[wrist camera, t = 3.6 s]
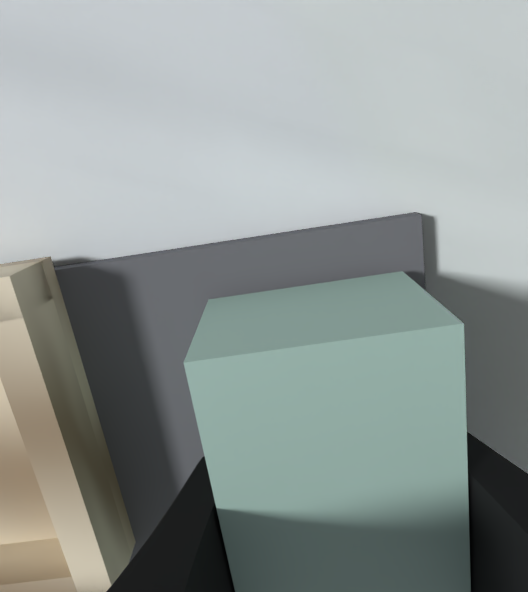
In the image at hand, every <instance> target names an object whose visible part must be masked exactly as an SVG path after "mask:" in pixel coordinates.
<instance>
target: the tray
mask: <svg viewBox="0 0 528 592" xmlns="http://www.w3.org/2000/svg"><path fill="white" fill-rule="evenodd" d="M135 543H136V541H135V538H134V535H133V531H132V528H131V525H130V521H129V518H128V515H127V511H126V508H125V504H124V501H123V498H122V494H121V491H120V488H119V484H118V481H117V478H116V474H115V471H114V468H113V464H112V461H111V458H110V454H109V451H108V447H107V444H106V441H105V437H104V434H103V431H102V427H101V424H100V421H99V417H98V414H97V411H96V407H95V404H94V400H93V397H92V394H91V390H90V387H89V384H88V380H87V377H86V374H85V370H84V367H83V364H82V360H81V357H80V353H79V350H78V347H77V343H76V340H75V337H74V333H73V330H72V327H71V323H70V320H69V317H68V313H67V310H66V307H65V303H64V300H63V296H62V293H61V290H60V286H59V283H58V280H57V276H56V273H55V270H54V266H53V263H52V260H51V257H44V258H38V259H31V260H25V261H18V262H12V263H5V264H0V592H106V591H107V590H108V589H109V588H110V587H111V585H112V584H113V583H114V582H115V580H116V579H117V578H118V577H119V575H120V574H121V573H122V572H123V570H124V569H125V568H126V566H127V565H128V564H129V561H130V558H131V555H132V552H133V549H134V546H135Z"/></svg>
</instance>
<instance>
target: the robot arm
mask: <svg viewBox="0 0 528 592" xmlns="http://www.w3.org/2000/svg"><path fill="white" fill-rule="evenodd" d="M467 460H468V499H469V538H470V577H471V592H528V474H527V473H526V472H524V471H523V470H521V469H520V468H518V467H517V466H515V465H514V464H512V463H511V462H509V461H508V460H507V459H505V458H504V457H502V456H501V455H499V454H498V453H497V452H495V451H494V450H492V449H491V448H489V447H488V446H486V445H485V444H484V443H482V442H481V441H479V440H478V439H477V438H475V437H474V436H472V435H471V434H469V433H468V432H467ZM106 592H235V589H234V585H233V580H232V576H231V571H230V567H229V562H228V558H227V553H226V549H225V545H224V540H223V536H222V531H221V527H220V522H219V518H218V514H217V509H216V505H215V500H214V496H213V491H212V487H211V482H210V478H209V474H208V469H207V465H206V460H205V457H202V458H201V460H200V461H199V462H198V464H197V465H196V467H195V468H194V470H193V472H192V473H191V475H190V476H189V478H188V480H187V481H186V483H185V484H184V486H183V487H182V489H181V491H180V492H179V494H178V495H177V497H176V498H175V500H174V501H173V503H172V504H171V506H170V507H169V509H168V510H167V512H166V513H165V514H164V516H163V517H162V519H161V520H160V522H159V523H158V525H157V526H156V527H155V529H154V530H153V532H152V533H151V535H150V536H149V537H148V539H147V540H146V542H145V543H144V544H143V545H142V547H141V548H140V549H139V551H138V552H137V553H136V555H135V556H134V557H133V559H132V560H131V561H130V562H129V564H128V565H127V566H126V568H125V569H124V570H123V572H122V573H121V574H120V575H119V577H118V578H117V579H116V580H115V582H114V583H113V584H112V585H111V587H110V588H109V589H108V590H107V591H106Z"/></svg>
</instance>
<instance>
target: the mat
mask: <svg viewBox="0 0 528 592" xmlns="http://www.w3.org/2000/svg"><path fill="white" fill-rule="evenodd" d="M54 270H55V273H56V276H57V280H58V283H59V286H60V290H61V293H62V296H63V300H64V303H65V307H66V310H67V313H68V317H69V320H70V323H71V327H72V330H73V333H74V337H75V340H76V343H77V347H78V350H79V353H80V357H81V360H82V364H83V367H84V370H85V374H86V377H87V380H88V384H89V387H90V390H91V394H92V397H93V400H94V404H95V407H96V411H97V414H98V417H99V421H100V424H101V427H102V431H103V434H104V437H105V441H106V444H107V447H108V451H109V454H110V458H111V461H112V464H113V468H114V471H115V474H116V478H117V481H118V484H119V488H120V491H121V494H122V498H123V501H124V504H125V508H126V511H127V515H128V518H129V521H130V525H131V528H132V531H133V535H134V538H135V541H136V543H135V546H134V549H133V552H132V555H131V558H130V561H131V560H132V559H133V557H134V556H135V555H136V553H137V552H138V551H139V549H140V548H141V547H142V545H143V544H144V543H145V542H146V540H147V539H148V537H149V536H150V535H151V533H152V532H153V530H154V529H155V527H156V526H157V525H158V523H159V522H160V520H161V519H162V517H163V516H164V514H165V513H166V512H167V510H168V509H169V507H170V506H171V504H172V503H173V501H174V500H175V498H176V497H177V495H178V494H179V492H180V491H181V489H182V487H183V486H184V484H185V483H186V481H187V480H188V478H189V476H190V475H191V473H192V472H193V470H194V468H195V467H196V465H197V464H198V462H199V461H200V460H201V458H202V457H205V456H204V451H203V447H202V443H201V438H200V434H199V429H198V425H197V420H196V416H195V411H194V407H193V403H192V398H191V394H190V389H189V385H188V380H187V376H186V372H185V367H184V360H185V358H186V355H187V353H188V350H189V347H190V345H191V342H192V340H193V337H194V335H195V332H196V330H197V327H198V325H199V322H200V320H201V317H202V314H203V312H204V309H205V307H206V304H207V302H208V299H215V298H222V297H229V296H236V295H243V294H249V293H256V292H263V291H270V290H277V289H284V288H290V287H297V286H304V285H311V284H318V283H325V282H332V281H338V280H345V279H352V278H359V277H366V276H373V275H379V274H386V273H393V272H400V271H403V272H404V273H405V274H406V275H408V276H409V277H410V278H411V279H412V280H413V281H415V282H416V283H417V284H418V285H419V286H421V287H422V288H423V289H424V290H425V271H424V251H423V232H422V215H421V214H418V213H416V212H414V213H408V214H401V215H395V216H388V217H382V218H375V219H368V220H362V221H355V222H349V223H342V224H335V225H329V226H322V227H316V228H309V229H302V230H296V231H289V232H283V233H276V234H270V235H263V236H256V237H250V238H243V239H237V240H230V241H223V242H217V243H210V244H204V245H197V246H191V247H184V248H177V249H171V250H164V251H158V252H151V253H144V254H138V255H131V256H125V257H118V258H111V259H105V260H98V261H92V262H85V263H79V264H72V265H65V266H59V267H54ZM130 561H129V562H130Z"/></svg>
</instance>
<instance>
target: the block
mask: <svg viewBox="0 0 528 592" xmlns="http://www.w3.org/2000/svg"><path fill="white" fill-rule="evenodd" d="M184 367H185V372H186V376H187V380H188V385H189V389H190V394H191V398H192V403H193V407H194V411H195V416H196V420H197V425H198V429H199V434H200V438H201V443H202V447H203V451H204V456H205V460H206V465H207V469H208V474H209V478H210V482H211V487H212V491H213V496H214V500H215V505H216V509H217V514H218V518H219V522H220V527H221V531H222V536H223V540H224V545H225V549H226V553H227V558H228V562H229V567H230V571H231V576H232V580H233V585H234V589H235V592H471V577H470V538H469V499H468V460H467V421H466V381H465V342H464V323H463V322H462V321H461V320H459V319H458V318H457V317H456V316H455V315H453V314H452V313H451V312H450V311H449V310H448V309H446V308H445V307H444V306H443V305H442V304H441V303H439V302H438V301H437V300H436V299H435V298H433V297H432V296H431V295H430V294H429V293H428V292H426V291H425V290H424V289H423V288H422V287H421V286H419V285H418V284H417V283H416V282H415V281H413V280H412V279H411V278H410V277H409V276H408V275H406V274H405V273H404V272H403V271H400V272H393V273H386V274H379V275H373V276H366V277H359V278H352V279H345V280H338V281H332V282H325V283H318V284H311V285H304V286H297V287H290V288H284V289H277V290H270V291H263V292H256V293H249V294H243V295H236V296H229V297H222V298H215V299H208V302H207V304H206V307H205V309H204V312H203V314H202V317H201V320H200V322H199V325H198V327H197V330H196V332H195V335H194V337H193V340H192V342H191V345H190V347H189V350H188V353H187V355H186V358H185V360H184Z"/></svg>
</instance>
